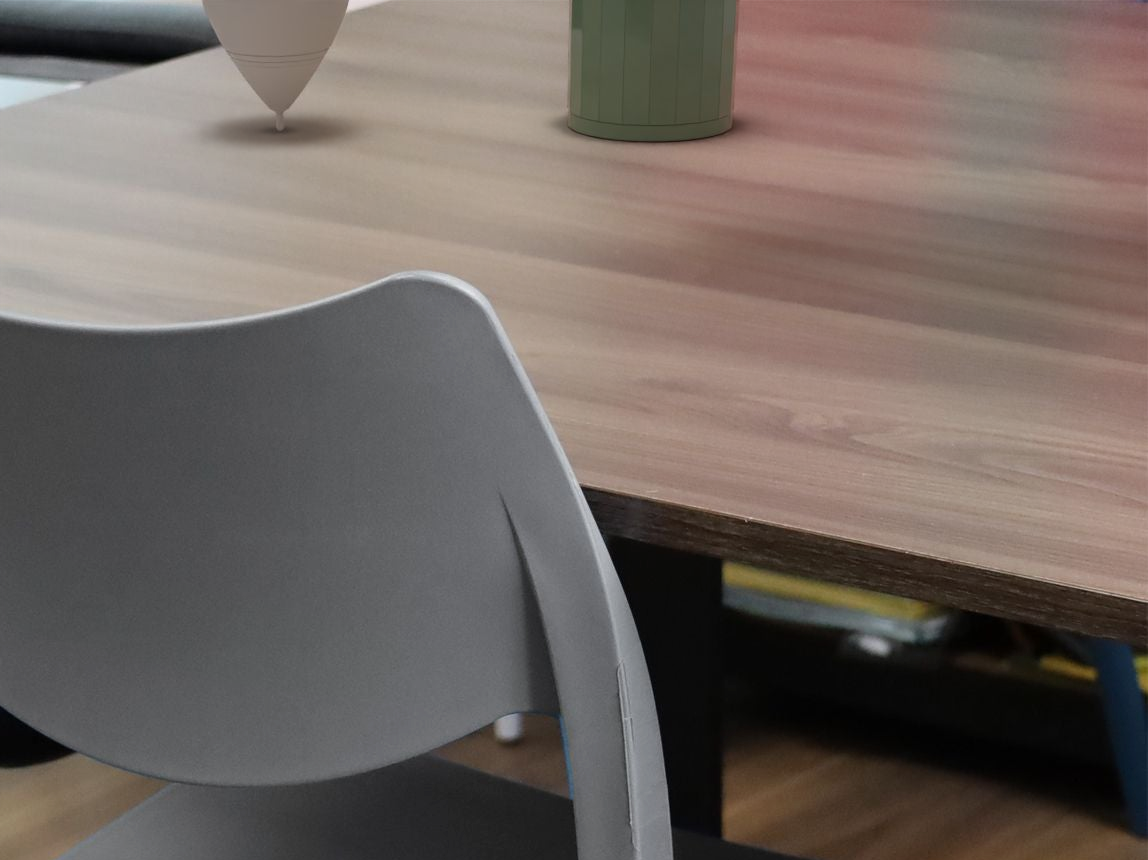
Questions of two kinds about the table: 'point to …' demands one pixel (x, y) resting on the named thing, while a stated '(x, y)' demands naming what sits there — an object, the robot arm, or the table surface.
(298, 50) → the spinning top
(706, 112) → the green cylinder
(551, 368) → the table surface
